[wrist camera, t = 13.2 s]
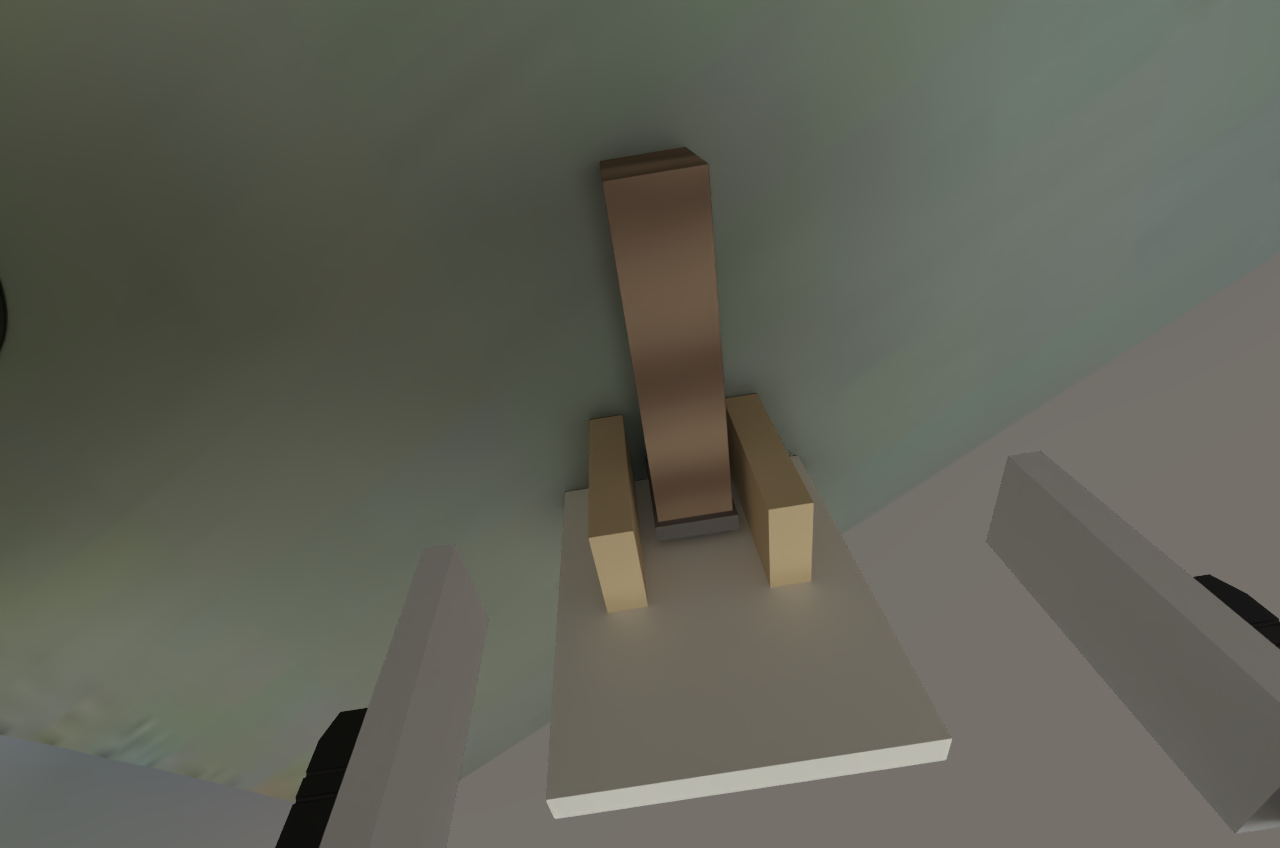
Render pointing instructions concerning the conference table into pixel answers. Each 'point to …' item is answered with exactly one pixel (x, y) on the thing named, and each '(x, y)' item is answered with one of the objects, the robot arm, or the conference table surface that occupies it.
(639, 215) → the rail
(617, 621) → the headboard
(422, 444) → the conference table surface
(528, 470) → the conference table surface
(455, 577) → the robot arm
